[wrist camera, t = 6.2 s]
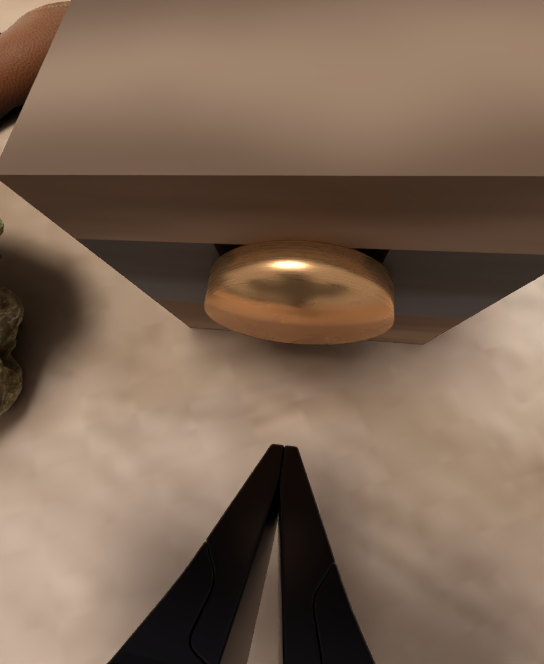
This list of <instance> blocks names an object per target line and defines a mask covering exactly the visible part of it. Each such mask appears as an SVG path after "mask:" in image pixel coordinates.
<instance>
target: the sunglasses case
mask: <svg viewBox="0 0 544 664" xmlns="http://www.w3.org/2000/svg"><path fill="white" fill-rule="evenodd" d="M70 2H71V1H66V2H57V3H52V4H48V5H44V6H42V7H39V8H36V9H34V10H32V11H30V12H28V13H26V14H25V15H24V16H22V17H21V18H19V19H18V20H17V21H16V22H15V23H14V24H13V25H12V26H11V27H10V28H8V29H7V30H6V31H5V32H3V33H0V119H1V118H3V117H4V116H5V115H6V114H7V113H8V112H9V111H11V110H12V109H13V108H14V107H17V106H21V105H22V104H24V103H25V101H26V99H27V97H28V95H29V93H30V90H31V88H32V86H33V84H34V81H35V79H36V77H37V75H38V73H39V70H40V68H41V66H42V64H43V62H44V59H45V57H46V55H47V53H48V50H49V48H50V46H51V44H52V42H53V39H54V37H55V35H56V33H57V30H58V28H59V26H60V24H61V22H62V19H63V17H64V15H65V13H66V11H67V8H68V6H69V4H70Z"/></svg>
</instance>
